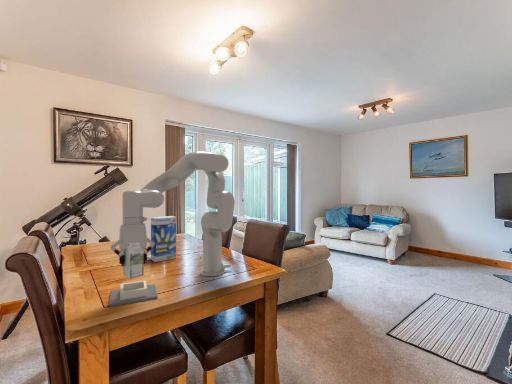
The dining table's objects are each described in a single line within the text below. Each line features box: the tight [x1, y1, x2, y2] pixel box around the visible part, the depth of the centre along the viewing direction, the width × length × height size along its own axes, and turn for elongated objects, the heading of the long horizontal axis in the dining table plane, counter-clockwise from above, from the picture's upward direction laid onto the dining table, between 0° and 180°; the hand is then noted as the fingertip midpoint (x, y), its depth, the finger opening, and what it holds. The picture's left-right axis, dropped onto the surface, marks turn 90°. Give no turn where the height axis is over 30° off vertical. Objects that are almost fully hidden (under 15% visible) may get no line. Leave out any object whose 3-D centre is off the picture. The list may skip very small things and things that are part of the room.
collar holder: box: [108, 279, 159, 308], centre depth 108 cm, size 17×14×4 cm
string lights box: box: [150, 215, 177, 263], centre depth 161 cm, size 13×8×26 cm, turn 131°
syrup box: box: [123, 242, 145, 279], centre depth 108 cm, size 6×6×14 cm
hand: (133, 263), depth 108 cm, fingers closed on syrup box, 7 cm apart
